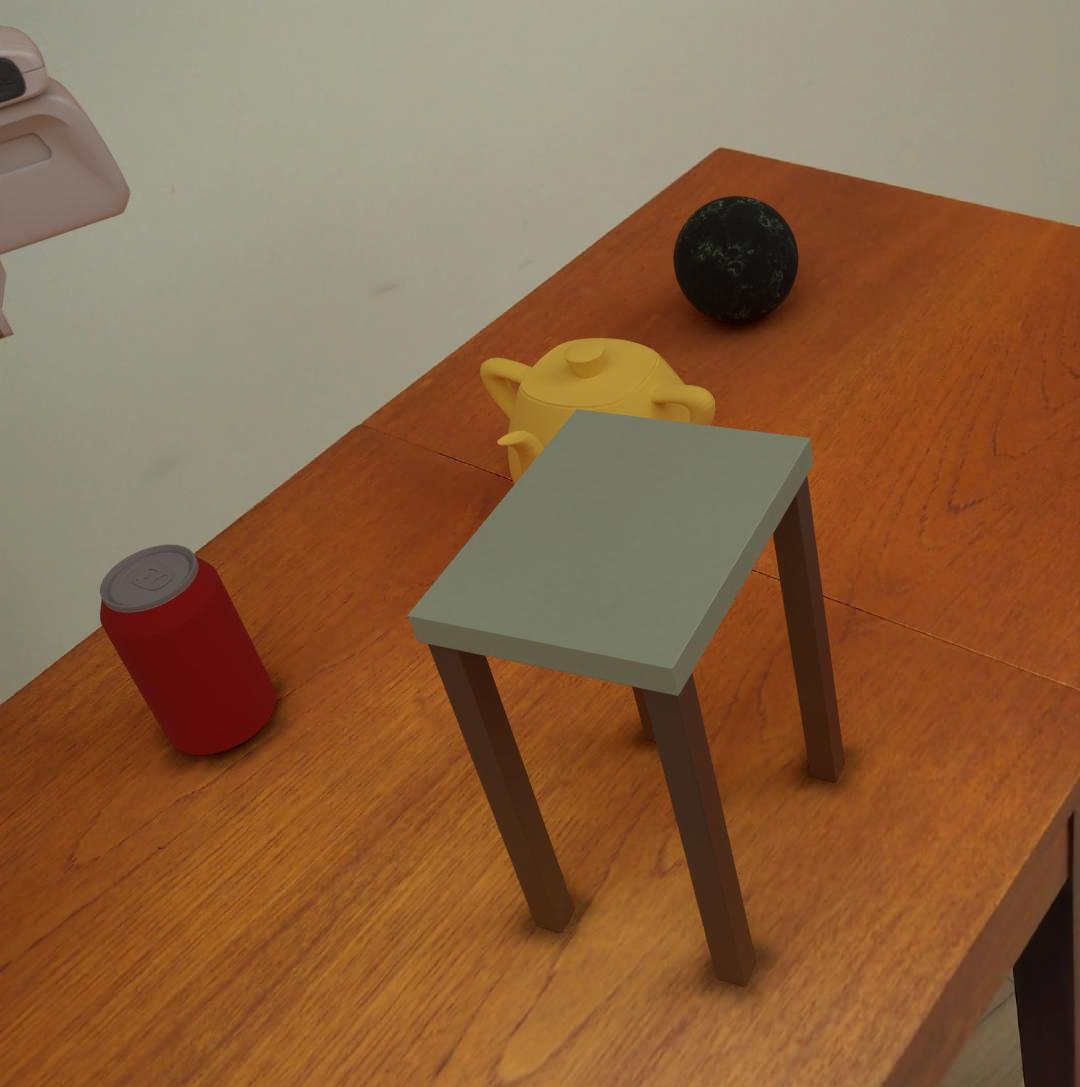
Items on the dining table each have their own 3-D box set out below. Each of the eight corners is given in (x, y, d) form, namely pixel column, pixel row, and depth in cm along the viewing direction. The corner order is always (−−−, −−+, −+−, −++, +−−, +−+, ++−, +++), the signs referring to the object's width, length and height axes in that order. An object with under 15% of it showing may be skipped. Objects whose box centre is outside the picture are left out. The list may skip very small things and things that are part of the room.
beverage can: (230, 671, 88) (154, 525, 80) (304, 701, 85) (233, 552, 77) (148, 743, 84) (61, 597, 76) (223, 778, 80) (140, 629, 73)
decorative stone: (659, 328, 114) (637, 218, 107) (736, 274, 119) (719, 165, 113) (753, 358, 108) (735, 243, 102) (828, 299, 113) (816, 187, 107)
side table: (748, 993, 65) (671, 668, 51) (528, 929, 69) (406, 615, 56) (851, 759, 75) (810, 437, 61) (654, 717, 79) (576, 408, 66)
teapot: (491, 478, 100) (448, 338, 93) (673, 417, 103) (645, 276, 96) (541, 587, 90) (496, 439, 82) (742, 515, 93) (716, 365, 85)
